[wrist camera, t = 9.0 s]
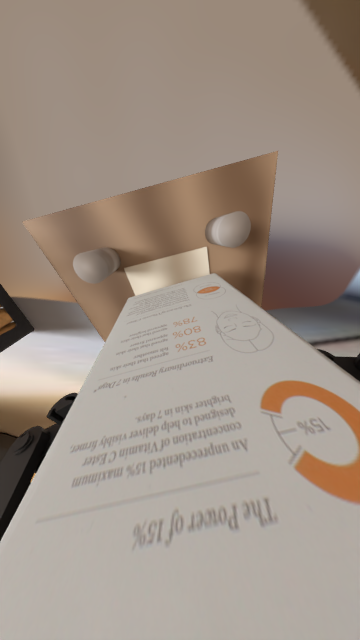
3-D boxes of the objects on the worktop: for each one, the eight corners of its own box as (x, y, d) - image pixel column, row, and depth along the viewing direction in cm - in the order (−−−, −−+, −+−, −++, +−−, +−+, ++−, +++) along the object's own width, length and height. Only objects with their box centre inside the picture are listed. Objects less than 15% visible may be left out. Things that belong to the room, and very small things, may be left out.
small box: (152, 347, 16) (125, 622, 5) (126, 296, 12) (-211, 878, 1) (223, 328, 15) (381, 579, 4) (217, 270, 12) (948, 773, 1)
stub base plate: (130, 369, 23) (122, 403, 18) (36, 223, 12) (-43, 216, 7) (251, 339, 22) (275, 368, 17) (265, 160, 11) (335, 109, 7)
